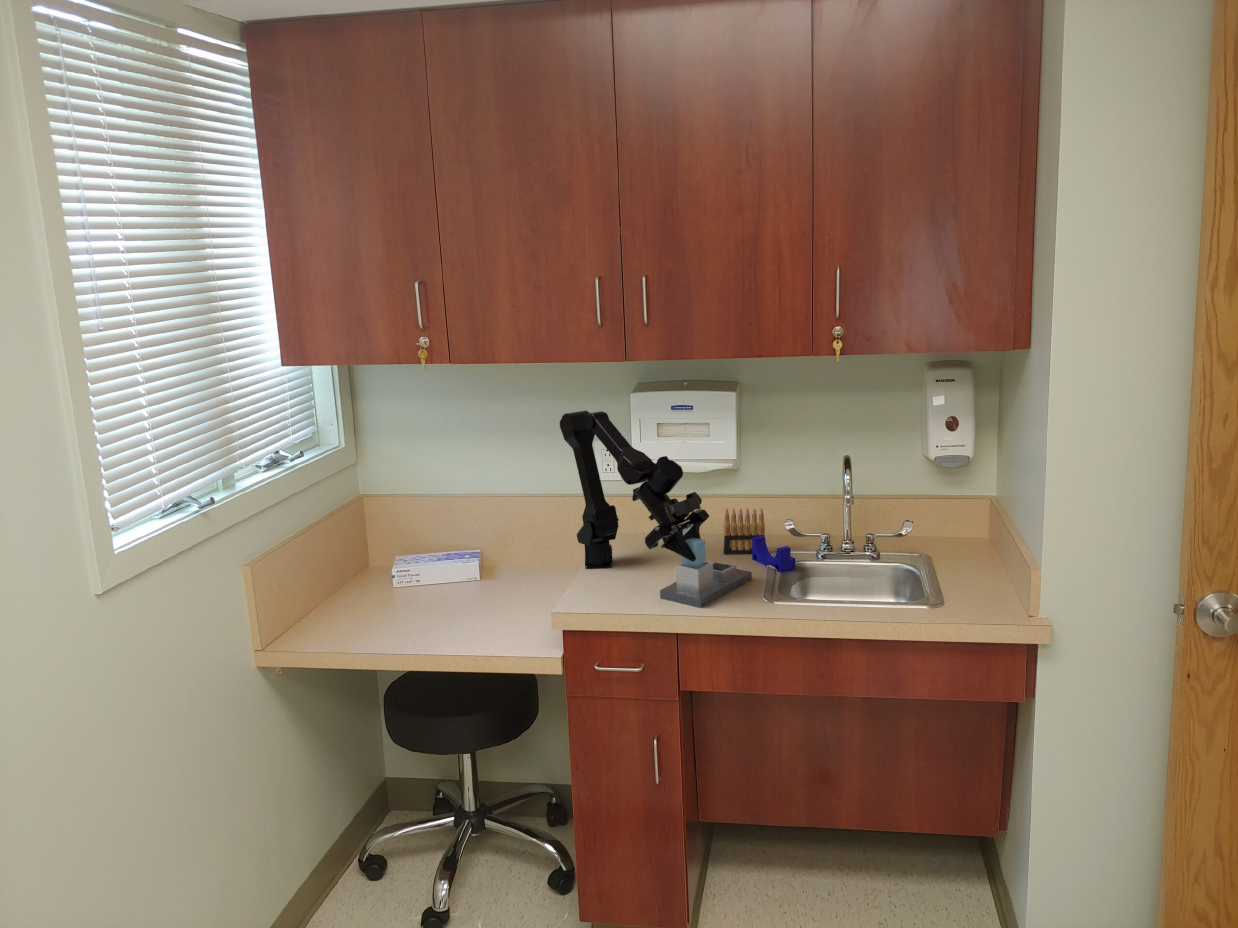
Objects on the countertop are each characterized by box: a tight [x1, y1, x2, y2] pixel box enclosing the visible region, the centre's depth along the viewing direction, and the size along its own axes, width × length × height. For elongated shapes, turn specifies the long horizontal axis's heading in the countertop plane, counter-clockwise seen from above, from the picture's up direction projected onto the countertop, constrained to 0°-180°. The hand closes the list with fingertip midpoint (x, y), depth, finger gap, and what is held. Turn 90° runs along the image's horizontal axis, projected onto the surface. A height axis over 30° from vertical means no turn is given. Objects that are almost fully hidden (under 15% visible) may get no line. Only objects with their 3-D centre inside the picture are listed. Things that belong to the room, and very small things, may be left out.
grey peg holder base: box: [659, 560, 753, 609], centre depth 227 cm, size 22×11×8 cm, turn 142°
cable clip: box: [751, 536, 797, 573], centre depth 243 cm, size 12×4×6 cm, turn 27°
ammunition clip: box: [722, 507, 766, 556], centre depth 252 cm, size 11×2×12 cm, turn 86°
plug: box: [682, 538, 707, 569], centre depth 222 cm, size 4×4×7 cm
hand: (699, 558), depth 221 cm, fingers closed on plug, 4 cm apart
